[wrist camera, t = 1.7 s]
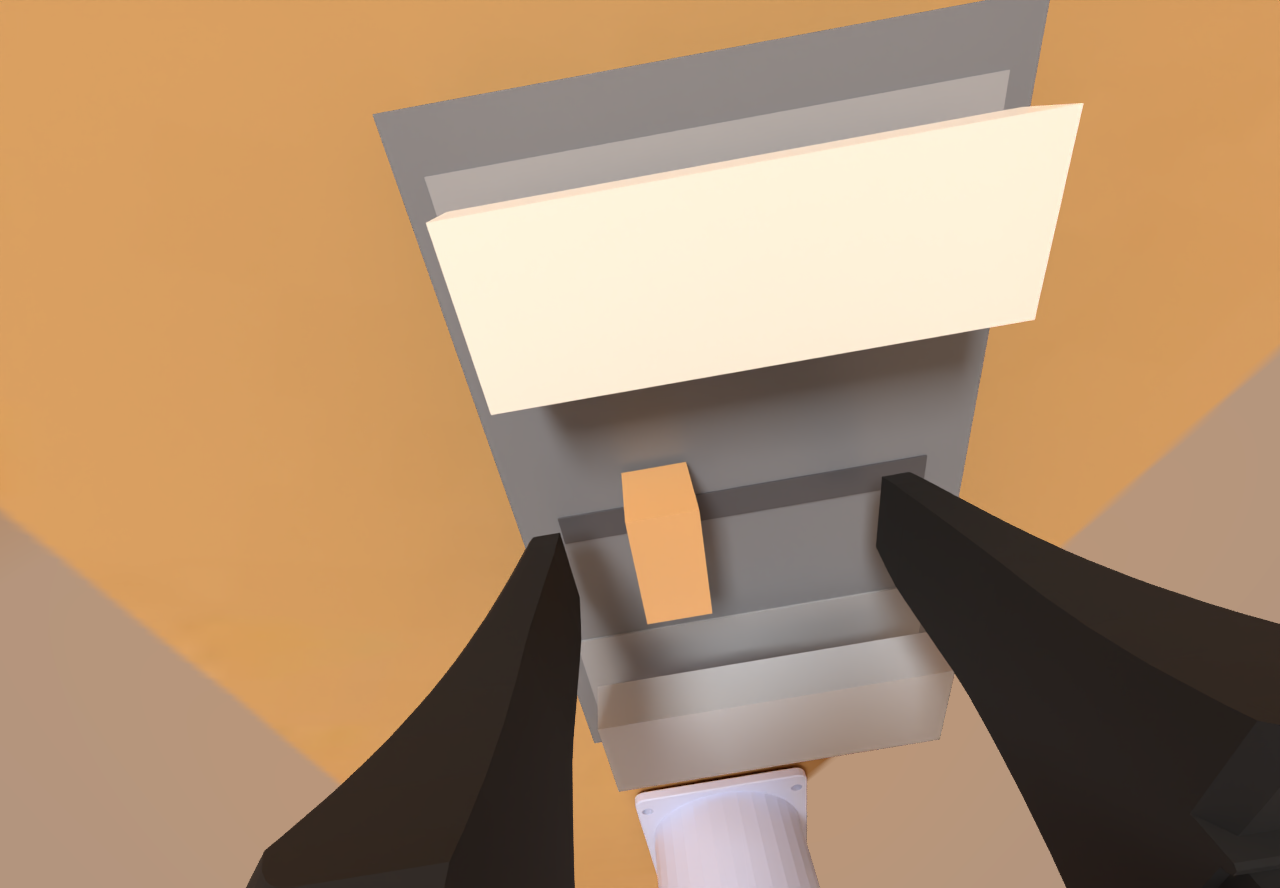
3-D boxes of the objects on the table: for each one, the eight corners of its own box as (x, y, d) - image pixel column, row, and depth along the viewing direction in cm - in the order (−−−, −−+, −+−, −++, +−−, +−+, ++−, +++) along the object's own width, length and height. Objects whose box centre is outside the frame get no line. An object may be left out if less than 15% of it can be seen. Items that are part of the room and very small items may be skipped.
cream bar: (987, 299, 10) (1034, 319, 9) (501, 385, 10) (491, 414, 9) (1020, 107, 8) (1083, 103, 7) (446, 211, 8) (425, 222, 7)
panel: (881, 617, 20) (924, 690, 18) (594, 665, 20) (594, 744, 18) (944, 22, 11) (1053, -13, 8) (423, 118, 11) (371, 114, 9)
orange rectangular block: (699, 558, 14) (712, 613, 12) (641, 568, 14) (647, 624, 12) (686, 461, 12) (699, 509, 11) (621, 472, 12) (624, 522, 11)
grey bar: (917, 699, 16) (939, 739, 15) (617, 748, 16) (618, 791, 15) (929, 631, 14) (955, 670, 13) (597, 686, 14) (597, 729, 13)
